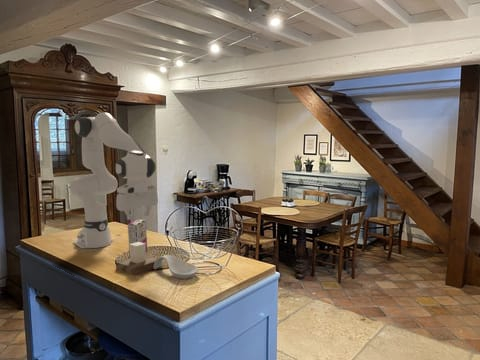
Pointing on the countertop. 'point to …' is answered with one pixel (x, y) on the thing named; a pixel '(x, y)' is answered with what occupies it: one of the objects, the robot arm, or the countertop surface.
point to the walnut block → (136, 266)
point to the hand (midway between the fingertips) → (138, 217)
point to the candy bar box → (137, 232)
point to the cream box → (137, 252)
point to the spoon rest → (177, 267)
